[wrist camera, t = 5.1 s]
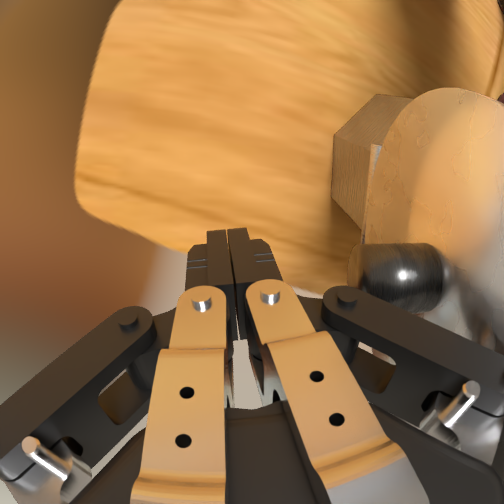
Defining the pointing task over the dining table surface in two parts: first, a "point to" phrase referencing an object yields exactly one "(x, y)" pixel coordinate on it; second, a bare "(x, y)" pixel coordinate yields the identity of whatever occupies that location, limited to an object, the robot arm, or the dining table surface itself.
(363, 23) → the dining table surface
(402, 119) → the lid
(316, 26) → the dining table surface
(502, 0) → the deodorant
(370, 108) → the pot
